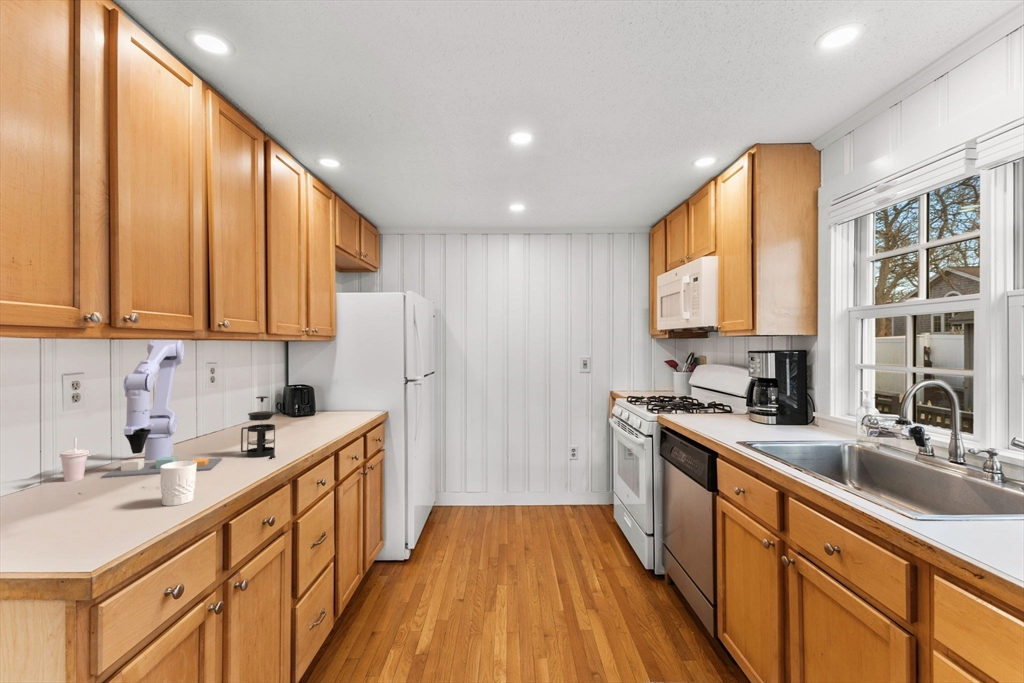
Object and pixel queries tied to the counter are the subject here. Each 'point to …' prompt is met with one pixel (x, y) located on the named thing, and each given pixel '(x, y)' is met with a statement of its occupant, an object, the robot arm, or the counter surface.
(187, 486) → the white cup
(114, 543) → the counter surface
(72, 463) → the smoothie
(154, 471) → the button panel
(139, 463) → the white button
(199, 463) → the orange button
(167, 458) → the teal button
